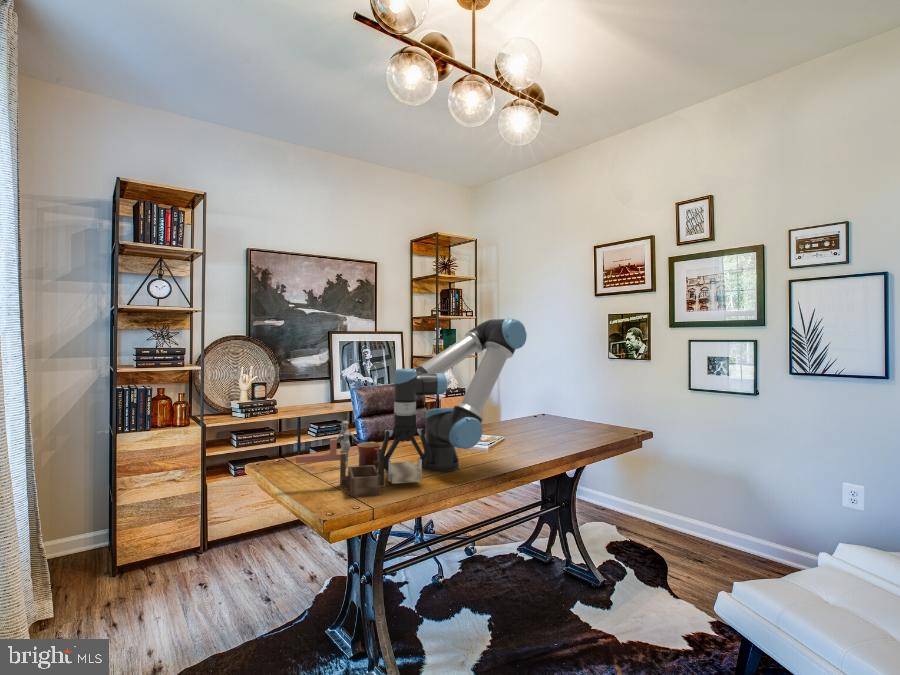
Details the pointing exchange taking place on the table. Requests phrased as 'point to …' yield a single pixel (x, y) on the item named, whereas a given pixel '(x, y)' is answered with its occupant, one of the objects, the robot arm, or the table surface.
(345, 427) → the human figurine
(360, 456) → the mug
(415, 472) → the lid
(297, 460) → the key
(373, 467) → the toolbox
